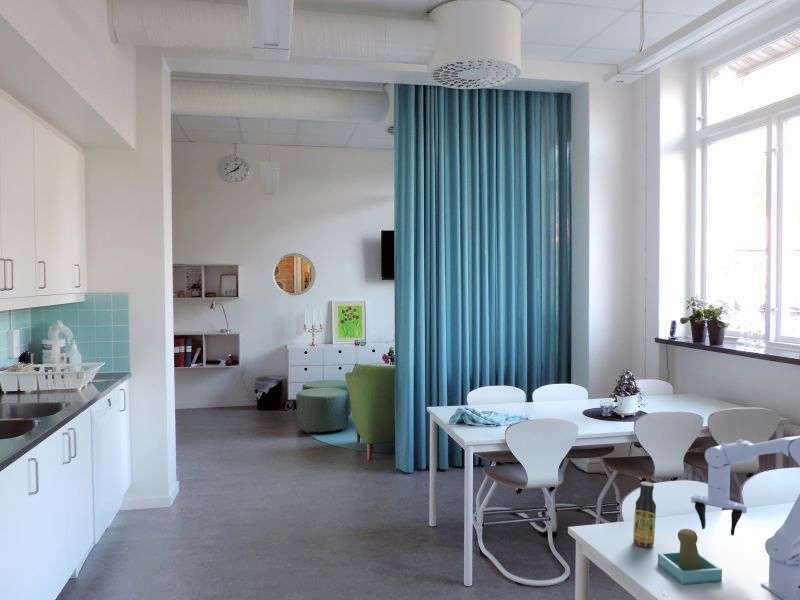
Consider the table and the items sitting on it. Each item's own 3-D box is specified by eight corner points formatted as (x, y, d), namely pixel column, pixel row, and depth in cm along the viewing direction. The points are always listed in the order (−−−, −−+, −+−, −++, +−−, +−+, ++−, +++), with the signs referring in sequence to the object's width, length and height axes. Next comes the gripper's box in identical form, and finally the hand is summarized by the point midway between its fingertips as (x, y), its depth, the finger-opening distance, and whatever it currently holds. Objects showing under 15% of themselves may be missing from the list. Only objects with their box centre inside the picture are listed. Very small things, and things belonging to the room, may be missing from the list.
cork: (705, 572, 170) (701, 535, 169) (682, 573, 171) (679, 536, 170) (697, 561, 176) (694, 525, 175) (676, 562, 177) (673, 526, 176)
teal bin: (721, 581, 167) (722, 569, 167) (682, 584, 165) (683, 572, 165) (694, 561, 179) (694, 550, 179) (657, 564, 177) (657, 552, 177)
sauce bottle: (632, 546, 189) (633, 484, 189) (634, 538, 195) (635, 478, 194) (654, 550, 186) (655, 488, 186) (656, 542, 192) (657, 482, 191)
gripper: (748, 487, 176) (747, 532, 177) (694, 477, 185) (693, 520, 185) (745, 494, 170) (744, 540, 171) (690, 484, 179) (689, 528, 179)
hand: (717, 531), depth 178 cm, fingers open, 7 cm apart
